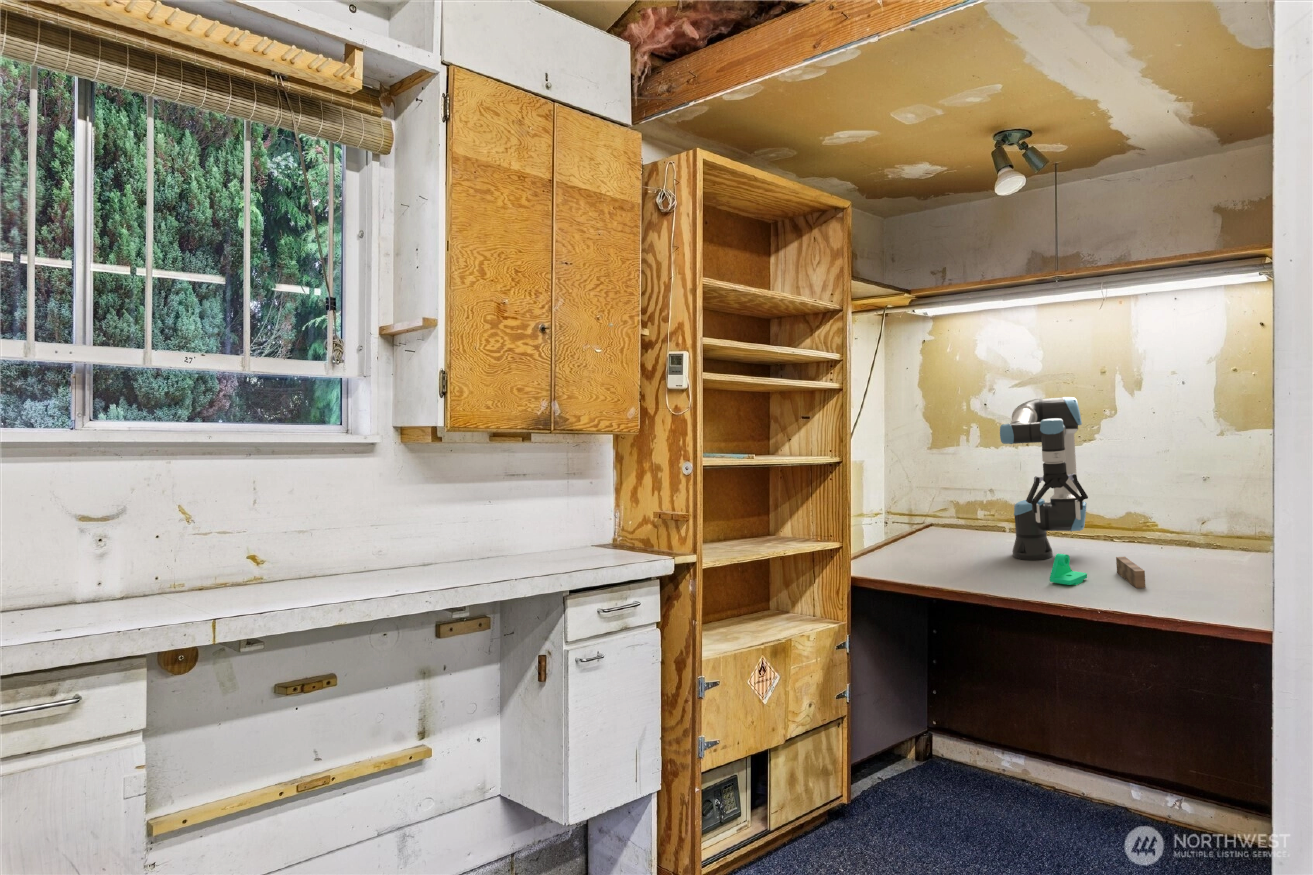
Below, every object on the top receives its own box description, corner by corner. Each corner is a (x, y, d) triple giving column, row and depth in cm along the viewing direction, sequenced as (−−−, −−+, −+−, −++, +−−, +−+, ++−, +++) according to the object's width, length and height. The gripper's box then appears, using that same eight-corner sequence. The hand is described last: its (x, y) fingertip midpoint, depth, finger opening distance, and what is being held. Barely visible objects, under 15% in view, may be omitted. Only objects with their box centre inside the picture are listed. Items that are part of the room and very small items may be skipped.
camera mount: (1070, 588, 297) (1068, 559, 296) (1050, 584, 304) (1048, 557, 303) (1088, 580, 304) (1086, 552, 303) (1068, 577, 310) (1066, 550, 309)
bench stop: (1117, 572, 308) (1116, 557, 308) (1125, 572, 308) (1124, 556, 307) (1136, 588, 289) (1135, 571, 288) (1145, 587, 288) (1144, 570, 288)
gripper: (1020, 466, 295) (1024, 525, 297) (1095, 460, 290) (1099, 519, 292) (1014, 463, 302) (1018, 520, 304) (1087, 457, 298) (1091, 515, 300)
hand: (1058, 520), depth 298 cm, fingers open, 13 cm apart
